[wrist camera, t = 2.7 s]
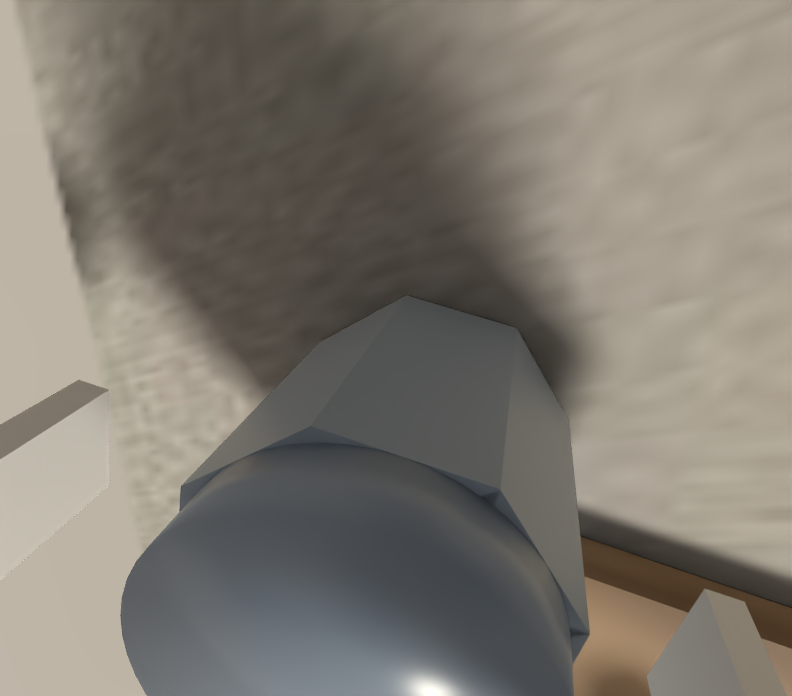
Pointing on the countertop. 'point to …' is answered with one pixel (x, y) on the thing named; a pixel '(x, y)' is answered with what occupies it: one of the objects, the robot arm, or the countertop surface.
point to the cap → (376, 529)
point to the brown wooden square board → (653, 620)
